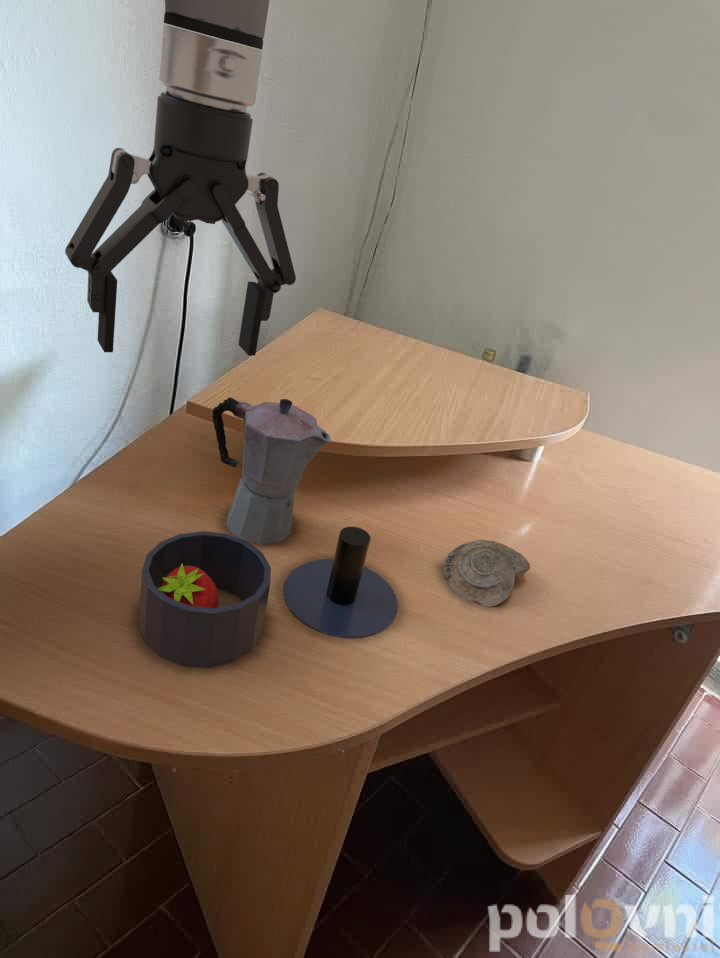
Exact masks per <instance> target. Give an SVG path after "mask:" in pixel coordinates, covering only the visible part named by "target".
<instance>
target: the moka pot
mask: <svg viewBox="0 0 720 958" xmlns="http://www.w3.org/2000/svg"><path fill="white" fill-rule="evenodd" d="M225 412H230V413H232V415H233V416H234V417H236V418H238V419H240V420H243V426H244V427H243V428H244V429H243V447H242V465H241V471H242V472H241V477H240V480H239V483H238V485H237V488H236V491H235V494H234V497H233V500H232V503H231V505H230V507H229V511H228V513H227V517H226V518H227V519H226V529H227V530H228V531H229V532H230V533H231V534H233V535H234V537H236V538H239V539H242V540H245V541H247V542H248V543H250V544H255V545H259V546H260V545H263V546H264V545H269V544H277V543H281V542H282V541H284V540H285V539H286V538H288V537H289V536H290V535H291V533H292V528H293V527H292V526H293V515H294V504H295V493H296V492H295V490H296V488H297V487H298V482H300V481H301V480H302V478H303V474H304V473H305V470H306V468H307V466H308V464H309V462H310V461H311V460H312V459H313V458H315V456H316V455H317V454H318V453H319V452H320V451H321V450H322V448H323V447H324V446H325V445H326V444H331V442H332V439H331V438H332V437H331V436H330V434H329V433H327V431H326V430H325V429H323V428H322V427H320V426H319V425H318V422H317V421H318V420H317V418H316V417H315V416H313V415H312V414H310V413H309V412H306V411H305V410H303V409H302V408H300V407H298V406H296V405H293V402H292V400H290V399H287V398H281V399H280V400H279V402H271V401H264V402H261V403H258V404H255V405H253V404H250V403H248V402H245V401H242V402H241V401H238V400H236V399H235V398H234V397H227V399H224V400H223V402H220V403H219V404H217V405H216V406H214V407H213V408H212V416H211V417H212V421H213V428H214V430H215V436H216V442H217V444H218V447H217V448H218V451H219V458H220V461H221V463H223V464H225V465H228V466H230V467H233V468H237V466H238V465H239V464H240V463H239V461H238V460H237V459H234V458H231V457H230V456H229V450H228V448H227V439H226V431H225V428H224V426H225V424H224V420H223V413H225Z"/></svg>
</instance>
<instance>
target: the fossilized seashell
mask: <svg viewBox="0 0 720 958" xmlns="http://www.w3.org/2000/svg"><path fill="white" fill-rule="evenodd" d="M530 569H531V564H530V562H529V560H528V559H527V557H525V556H524V555H523V554H521V553H520V552H518V551H517V550H515V549H514V548H512V547H510V546H508V545H506V544H503V543H501V542H497V541H495V540H487V539H477V540H472V541H467V542H465V543H462V544H460V545H458V546H456V547H455V548H454V549H452V550H451V551H450V552H448V554H447V556H446V557H445V559H444V562H443V564H442V575H443V579H444V580H445V582H446V583H447V585H448V587H449V589H450V590H451V591H452V592H453V593H455V595H457V596H459V597H461V598H462V599H464V600H466V601H468V602H470V603H471V602H472V603H474V604H477V605H479V606H481V607H486V608H491V607H495V606H498V605H500V604H502V603H503V602H504V601H506V600H507V599H508V598H509V597H510V595H511V594H512V592H513V590H514V586H515V582H516V579H518V578H520V577H522V576H524V575H525V574H526V573H527V572H528V571H529V570H530Z"/></svg>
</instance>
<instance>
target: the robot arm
mask: <svg viewBox="0 0 720 958" xmlns="http://www.w3.org/2000/svg"><path fill="white" fill-rule="evenodd" d="M269 7H270V0H164V15H163V28H162V29H163V30H162V39H161V40H162V42H161V52H160V63H159V73H158V74H159V75H158V80H159V81H160V83H161V84H162V85H164V86H166V87H165V92H161V93H160V95H157V101H156V102H157V103H156V114H155V126H154V127H155V128H154V140H153V149H152V153H151V155H150V156H149V158H145V157H142V156H138V155H135V154H131V153H129V152H128V151H126V150H125V149H124V148H122V147H115V148H114V149H113V150H112V152H111V157H110V162H109V167H108V168H109V169H108V174H107V177H106V179H105V180H104V181H103V183H102V185H101V187H100V188H99V189H98V190H99V191H98V192H97V194H96V195H95V197H94V198H93V201H92V202H91V204H90V206H89V207H88V209H87V211H86V212H85V214H84V216H83V217H82V219H81V221H80V223H79V225H78V226H77V227H76V230H75V231H74V233H73V235H72V236H71V238H70V240H69V242H68V243H67V245H66V247H65V250H64V254H65V255H66V257H67V259H68V261H69V262H70V263H71V265H72V266H73V267H74V268H77V269H81V270H84V271H86V272H87V275H88V276H87V296H86V298H87V300H86V301H87V304H88V306H89V308H90V310H91V312H92V313H98V322H97V323H98V324H97V342H98V344H99V346H100V348H101V350H103V353H114V342H115V327H116V326H115V325H116V309H117V294H118V293H117V291H118V279H117V277H116V276H115V275H114V273H113V272H112V271H113V270H114V269H115V268H116V267H117V266H118V265H119V264H120V263H121V262H123V260H124V259H125V258H126V257H127V256H128V255H129V254H131V252H132V251H133V250H134V249H135V248H137V246H139V244H140V243H142V241H143V240H145V238H146V237H148V236H149V235H150V233H151V232H152V231H154V229H155V228H157V227H158V226H159V225H160V224H163V223H165V222H166V221H167V220H168V219H169V218H170V217H171V216H173V217H175V218H177V219H178V220H180V221H186V222H191V221H200V222H202V223H205V224H209V225H215V224H216V223H217V222H220V221H221V222H222V224H223V225H224V227H225V228H226V229H227V232H228V233H229V235H230V237H231V238H232V240H233V242H234V244H235V246H236V247H237V248H238V250H239V251H240V254H241V256H242V257H243V259H244V260H245V262H246V263H247V265H248V268H250V270H251V272H252V273H253V275H254V277H255V279H256V280H257V282H256V281H250V280H249V281H247V285H246V286H247V287H246V292H245V298H244V303H243V304H244V305H243V310H242V311H243V312H242V318H241V325H240V331H239V338H238V346H239V347H240V348H241V349H242V351H243V352H244V353H245V354H246V355H247V356H249V357H250V356H256V353H257V348H258V341H259V336H260V330H261V323H262V322H268V321H269V319H270V317H271V313H272V311H271V310H272V306H273V301H274V300H273V299H274V295H275V294H277V293H279V292H280V291H281V288H282V286H284V285H287V286H292V285H294V284H295V282H296V279H297V277H296V273H295V269H294V268H295V267H294V264H293V261H292V257H291V252H290V249H289V245H288V241H287V238H286V233H285V229H284V225H283V221H282V217H281V213H280V210H279V206H278V205H279V192H280V191H279V189H280V184H279V182H278V180H277V178H274V177H273V176H270V175H269V174H267V173H265V172H259V173H257V175H247V172H246V165H247V161H248V158H249V157H248V156H249V151H250V143H251V137H252V136H251V135H252V128H253V121H254V120H253V117H252V118H251V116H252V115H251V114H250V113H249V112H247V108H248V107H252V106H254V105H255V103H256V98H257V92H258V83H259V78H260V77H259V76H260V70H261V63H262V55H263V51H262V50H263V46H264V40H263V39H265V33H266V26H267V19H268V13H269ZM144 175H147V178H148V179H149V180H150V182H151V184H152V185H153V187H154V189H153V190H152V191H151V192H150V193H148V194H147V196H146V197H145V198H144V199H143V200H142V202H141V205H140V206H139V207H138V208H136V209H135V211H134V212H133V213H131V214H130V215H129V216H128V218H126V220H125V221H123V222H122V224H121V225H120V226H118V227H117V228H116V229H115V230H114V231H113V232H112V233H111V234H110V235H109V236H108V237H107V238H106V240H105V239H104V241H103V242H102V243H101V244H100V245H99V246H98V244H99V242H100V241H101V239H102V237H103V236H104V234H105V232H106V231H107V229H108V228H109V225H110V224H111V222H112V220H113V219H114V217H115V215H116V214H117V212H118V210H119V209H120V207H121V205H122V204H123V202H124V200H125V199H126V197H127V195H128V193H129V191H130V188H131V186H132V185H136V184H137V183H138V182H139V181H140V180H141V178H142V177H143V176H144ZM247 191H248V192H249V196H250V198H251V200H253V201H254V202H255V207H256V212H257V214H258V218H259V223H260V226H261V229H262V230H261V231H262V233H263V237H264V240H265V244H266V248H267V252H268V254H269V258H270V262H271V265H272V268H271V267H270V266H269V264H268V262H267V260H266V259H265V256H264V255H263V254H262V252H261V250H260V248H259V247H258V245H257V242H255V240H254V237H253V236H252V235H251V232H250V231H249V229H248V228H247V225H246V222H245V220H244V218H243V216H242V214H241V213H240V211H239V209H238V208H237V206H236V204H238V202H239V201H240V200H241V199H242V197H243V196H244V195H245V194H246V193H247ZM97 246H98V247H97Z"/></svg>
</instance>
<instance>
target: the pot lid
mask: <svg viewBox="0 0 720 958" xmlns="http://www.w3.org/2000/svg"><path fill="white" fill-rule="evenodd" d="M370 543H371V535H370V533H369V532H367V530H365V529H363V528H361V527H358V526H345V527H343V528H342V529H341V530H340V531H339V535H338V539H337V544H336V547H335V548H336V549H335V553H334V557H333V558H322V559H316V560H311V561H308V562H304V563H303V564H300V565H299V566H297V567H295V568H294V569H293V570H291V572H290V573H289V575H287V577H286V579H285V581H284V584H283V589H282V592H283V593H282V594H283V599H284V603H285V604H286V606H287V608H288V610H289V611H290V613H291V614H292V615H293V616H294V617H295V618H296V619H297V620H298V621H300V622H301V623H302V624H303V625H305V626H306V627H308V628H310V629H312V630H313V631H316V632H318V633H321V634H323V635H326V636H330V637H335V638H341V639H362V638H367V637H371V636H374V635H377V634H379V633H381V632H382V631H384V630H386V629H387V628H388V627H389V626H391V624H392V623H393V622H394V620H395V618H396V616H397V612H398V606H399V605H398V599H397V596H396V593H395V591H394V589H393V587H392V586H391V585H390V584H389V583H388V581H387V580H386V579H385V578H383V576H381V575H380V574H379V573H378V572H375V571H374V570H372V569H370V568H368V567H366V566H365V563H366V560H367V559H366V558H367V555H368V551H369V547H370Z"/></svg>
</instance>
